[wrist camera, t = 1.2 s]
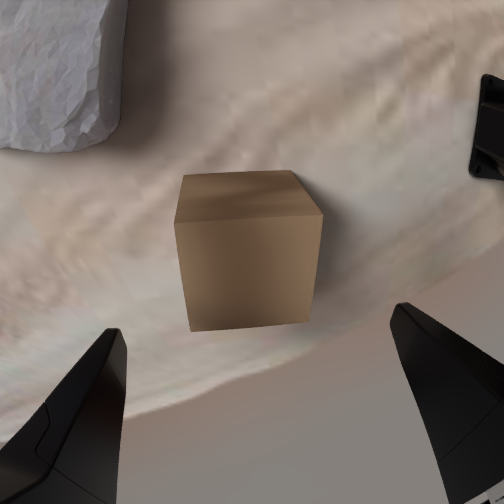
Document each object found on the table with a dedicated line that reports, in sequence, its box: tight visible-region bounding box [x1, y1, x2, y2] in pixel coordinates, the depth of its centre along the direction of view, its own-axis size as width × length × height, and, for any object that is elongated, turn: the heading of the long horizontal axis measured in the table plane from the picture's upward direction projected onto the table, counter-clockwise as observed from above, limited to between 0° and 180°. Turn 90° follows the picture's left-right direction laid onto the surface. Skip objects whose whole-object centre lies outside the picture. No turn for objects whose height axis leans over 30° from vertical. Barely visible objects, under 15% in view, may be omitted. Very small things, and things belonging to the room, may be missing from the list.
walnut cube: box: [174, 170, 323, 332], centre depth 14 cm, size 5×5×5 cm
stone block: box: [0, 0, 129, 153], centre depth 8 cm, size 12×5×10 cm
